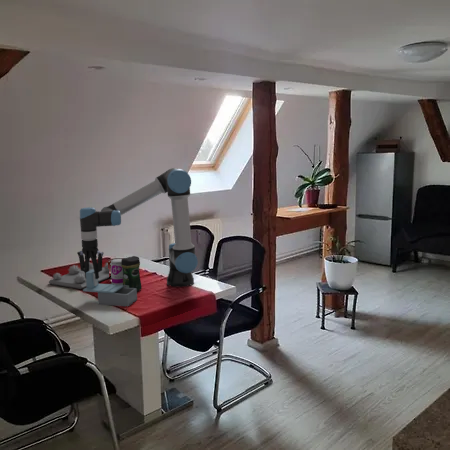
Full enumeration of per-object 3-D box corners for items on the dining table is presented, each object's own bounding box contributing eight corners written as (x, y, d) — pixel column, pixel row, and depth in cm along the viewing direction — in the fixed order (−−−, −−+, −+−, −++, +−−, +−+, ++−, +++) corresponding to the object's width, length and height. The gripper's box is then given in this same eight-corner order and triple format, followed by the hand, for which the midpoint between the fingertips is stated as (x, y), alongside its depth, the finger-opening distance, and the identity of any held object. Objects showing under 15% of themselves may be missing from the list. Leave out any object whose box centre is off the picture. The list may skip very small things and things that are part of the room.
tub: (137, 299, 227) (136, 288, 226) (128, 306, 218) (127, 294, 217) (108, 297, 231) (107, 286, 230) (98, 304, 222) (97, 292, 221)
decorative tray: (91, 269, 285) (90, 254, 284) (123, 274, 274) (122, 258, 272) (47, 285, 254) (46, 268, 253) (82, 291, 243) (80, 273, 241)
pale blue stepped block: (123, 286, 228) (122, 270, 227) (113, 293, 218) (112, 275, 217) (94, 284, 232) (93, 268, 231) (82, 291, 222) (81, 273, 221)
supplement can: (123, 289, 244) (121, 262, 242) (109, 288, 246) (107, 261, 243) (129, 284, 252) (128, 258, 250) (115, 284, 254) (114, 258, 251)
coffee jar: (134, 287, 248) (132, 254, 245) (143, 289, 243) (142, 256, 240) (120, 291, 241) (118, 257, 237) (129, 294, 236) (127, 259, 232)
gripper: (107, 238, 224) (110, 283, 228) (79, 236, 228) (82, 281, 232) (100, 241, 217) (103, 288, 221) (70, 240, 221) (74, 286, 225)
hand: (92, 284), depth 226 cm, fingers closed on pale blue stepped block, 3 cm apart
